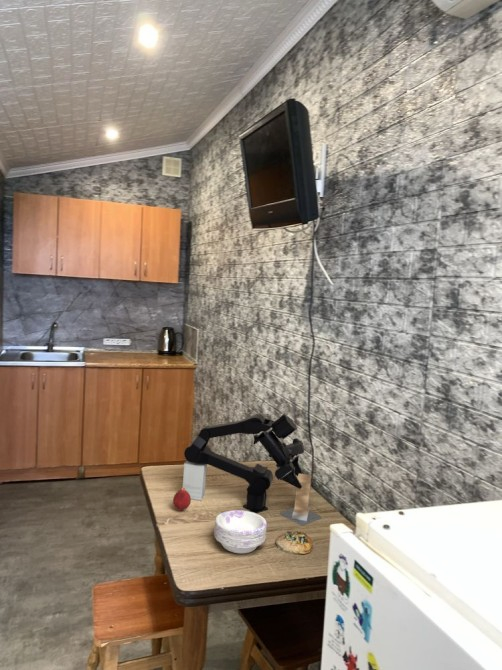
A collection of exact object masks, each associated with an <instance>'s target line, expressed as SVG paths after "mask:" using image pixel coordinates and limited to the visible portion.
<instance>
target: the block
mask: <svg viewBox="0 0 502 670" xmlns="http://www.w3.org/2000/svg"><path fill="white" fill-rule="evenodd" d="M296 477H297V478H298V480H299V482H300V484H301V485H302V488H301V489H299V488H297V487H295V499H294V511H293V514H292V518H293V519H299V520H304V521H307V518H308V514H309V510H310V509H311V508H310V506H309V504H310V495H311V494H310V493H311V485H312V475H311V474H306V473H303V474H300V473H299V474H298V476H296Z"/></svg>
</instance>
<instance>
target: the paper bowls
mask: <svg viewBox="0 0 502 670" xmlns="http://www.w3.org/2000/svg"><path fill="white" fill-rule="evenodd" d="M267 522H268V521H266V519H265V518H264V517H263V515H260V514H259V513H253V512H252V511H250V510H243V509H242V510H239V509H236V510H235V509H234V510H227V511H224V512H221V513H219V514H218V515H217V516H216V517H215V521H214V530H213V531H214V532H213V533H214V534H213V535H214V538H215V540H216V541H217V542H218V543H220V544H221V546H222V547H223V548H224V549H225V550H226V551H229V552H231V553H233V554H234V553H235V554H248V553H252V552H253V551H255V550H256V549H257V548H258V547H259V546H261V545H262V544H263V543H265V541H266V537H267V527H268V526H267V525H268V524H267Z"/></svg>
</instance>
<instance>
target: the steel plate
mask: <svg viewBox="0 0 502 670" xmlns="http://www.w3.org/2000/svg"><path fill="white" fill-rule="evenodd" d="M294 507H295V506H294ZM294 507H291V508H288V509H285V510H282V511H280V513H279V514H280V516H282V517H285V518H286V519H288V520H290V521H292V522H293V523H295V524H298V525H300V526H301V527H302V526H305V525H307V524H311V523H313V522H316V521H318V520H321V519H322V515H321V514H318V513H316V512H315V511H312V510H310V509H309V514H308V518H307V521H304V520H299V519H293V518H292V514H293V511H294Z"/></svg>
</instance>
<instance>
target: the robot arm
mask: <svg viewBox="0 0 502 670" xmlns="http://www.w3.org/2000/svg"><path fill="white" fill-rule="evenodd" d="M297 429H298V427H297V425H296V423H295V422H294V420H293V419H291V418H290V417H289V416H287V415H286V414H285V413H283V414H282V415H280V417H279V418H277V419H276V420H272V419H269V418H266V417H265V416H264V415H262V414H260V413H255V414H253V415H250V416H247V417H246V418H243V419H241V420H237V421H234V422H233V421H232V422H226V423H225V422H224V423H221V424H215V425H207V426H204V427H203V428H202V429H201V430H199V431H200V432H199V433H198V435H197V436H196V437H195V439H194V440H193V441H192V443H191V444H190V445H188V446H186V448H185V450H184V458H185V461H188V462H191V463H196V464H207V466H208V465H209V466H210V467H213V468H215V469H218V470H221V471H222V472H226V473H228V474H230V475H233V476H236V477H238V478H241V479H242V480H244V481H246V483H248V486H247V487H246V492H247V495H246V503H245V504H243V506H242V507H243V508H245V510H247V511H249V512H253V513H256V514H259V513H261V512H263V511H267V510H269V507H267V506H266V504H267V490H269V489H270V487H271V485H272V483H273V481H274V476H275V478H276V479H277V480H278V481H279V480H280V481H283V482H285V483H287V484H289V485H291V486H294V487H295V488H296V487H297V488H299V489H301V488H302V485H301V484H300V482H299V480H298V478H297V477H298V474H299V473H300V474H304V473H303V471H302V467H301V466H300V463H299V458H300V455H303V454H304V453H305V447H304V442H303V440H301V439H300V438H298V437H295V438H293V439H292V442H291V443H289V444H286V442H282V441H281V440H280V439H283V440H284V439H286V438H288V436H291V434H293V433H294V432H296V431H297ZM235 434H236V435H237V434H246V435H253V443H252V444H253V445H256V444H258V443H260V445H262V447H263V448H264V449H265V450H266V452H267V454H268V455H267V456H268V457H269V458H270V459H273V461H274V462H275V466H276V469H275V471H274V474H273V473H272V471H271V470H270V469H268V468H269V466H268V467H267V466H263V465H261V463H260V464H259V463H256V464H255V466H248V465H247V464H243V463H241V462H239V461H236V460H233V459H231V458H229V457H226V456H223V455H221V454H219V453H216V452H214V450H212V449H211V448H210V447H209V446H207V445H208V443H209V442H210V439H211V438H212V439H213V438H218V437H219V438H220V437H225V436H230V435H235Z"/></svg>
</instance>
